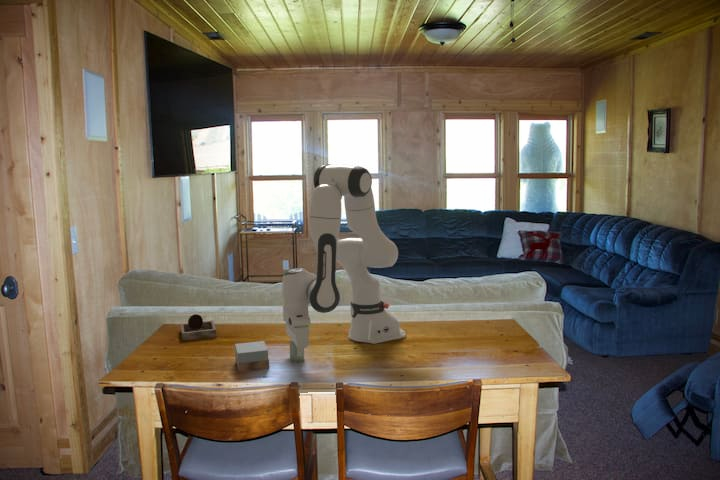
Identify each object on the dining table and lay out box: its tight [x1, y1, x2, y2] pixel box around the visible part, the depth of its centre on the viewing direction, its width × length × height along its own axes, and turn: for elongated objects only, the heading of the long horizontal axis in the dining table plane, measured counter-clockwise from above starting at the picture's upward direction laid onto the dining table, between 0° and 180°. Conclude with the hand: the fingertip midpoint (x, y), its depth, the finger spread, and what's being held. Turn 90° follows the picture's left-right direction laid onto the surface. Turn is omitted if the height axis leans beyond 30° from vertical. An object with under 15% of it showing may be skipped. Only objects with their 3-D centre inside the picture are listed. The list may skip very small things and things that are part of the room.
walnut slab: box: [234, 353, 270, 373], centre depth 198 cm, size 10×10×4 cm
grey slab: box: [234, 340, 269, 364], centre depth 197 cm, size 10×10×4 cm
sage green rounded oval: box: [289, 340, 305, 363], centre depth 203 cm, size 5×5×6 cm
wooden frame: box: [180, 320, 217, 341], centre depth 232 cm, size 13×13×3 cm
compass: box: [187, 314, 210, 331], centre depth 234 cm, size 8×8×7 cm
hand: (297, 352), depth 203 cm, fingers closed on sage green rounded oval, 5 cm apart
